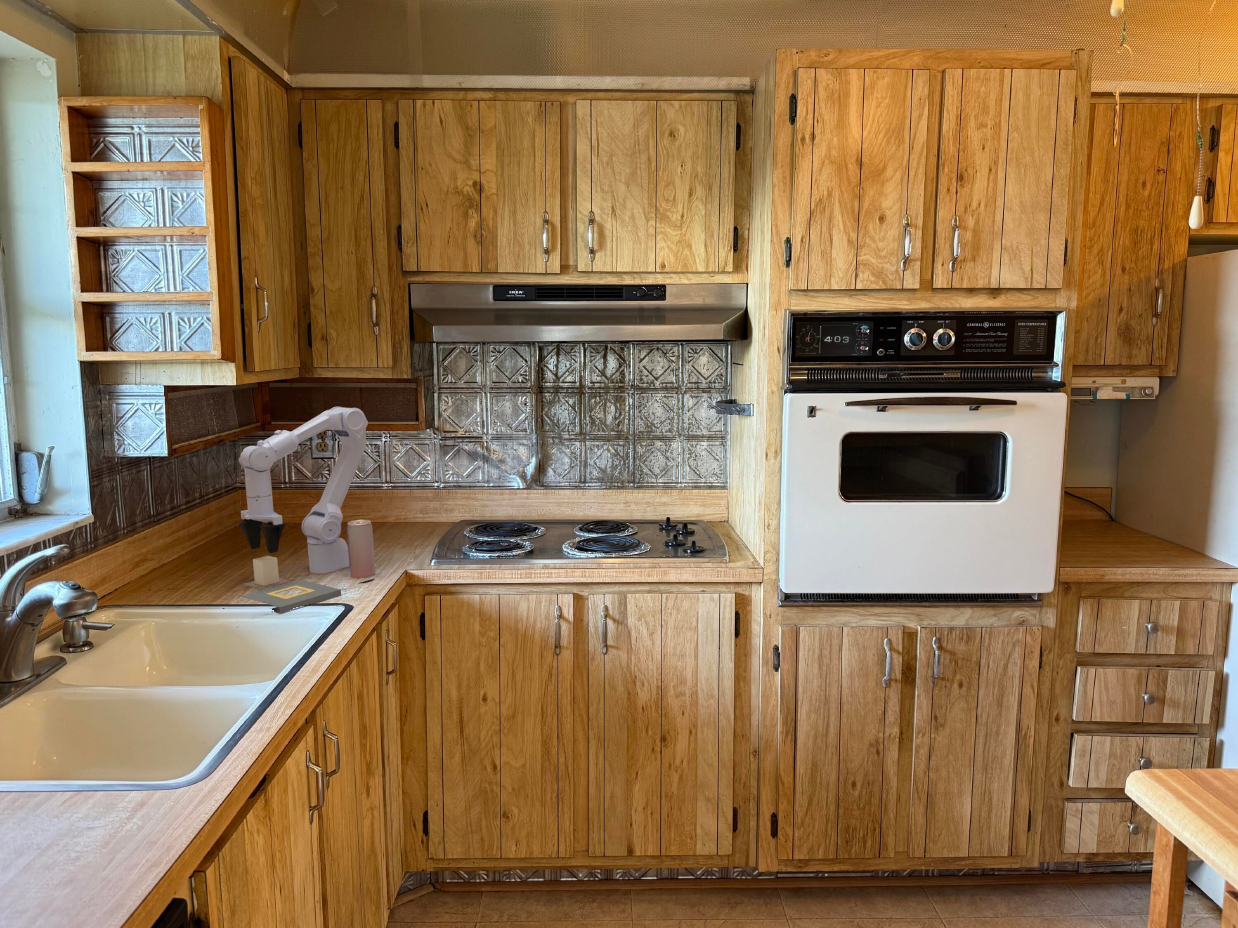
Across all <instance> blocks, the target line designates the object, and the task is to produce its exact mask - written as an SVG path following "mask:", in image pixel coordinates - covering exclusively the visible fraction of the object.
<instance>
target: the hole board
mask: <svg viewBox="0 0 1238 928" xmlns="http://www.w3.org/2000/svg"><path fill="white" fill-rule="evenodd" d="M293 589H296V590H301V591H303V592H300V593H297V594H292V595H290V596H289V595H288V596H285V595H282V594H279V593H282V592H286V591H289V590H293ZM341 596H342V589H341V588H337V587H333V586H329V585H325V584H321V583H316V582H313V581H307V580H304V579H298V580H294V581H290V582H286V583H282V584H279V585H275V586H271V587H268V588H264V589H260V590H258V591H254V592H250V593H247V594H243V595H240V597H241V598H245V599H249V600H253V601H256V602H259V603H263V604H266V605H271V606H273V607H272V608H271V609H272V610H274V612H273V613H277V614H280V615H281V614H285V613H289V612H291V611H290V610H292V609H293V608H296V607H300V606H304V605H308V606H310V605H309V604H311V605H314V604H313V603H315V604H318V603H321V602H324V601H328V600H332V599H335V598H338V597H341ZM292 611H293V610H292Z"/></svg>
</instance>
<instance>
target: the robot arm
mask: <svg viewBox="0 0 1238 928" xmlns="http://www.w3.org/2000/svg"><path fill="white" fill-rule="evenodd" d="M368 424H369V422H368V419H367V418H366V415H365V413H364V412H363V411H362V409H360V408H359V407H358V408H357V407H343V406H334V407H332V408H330V409H327V410H325V411H323V412H322V413H320V414H318V415H317V416H315V417H313V418H311V419H310V420H308V421H307V422H305V423H303V424H302V425H300V426H298V427H297V428H295V429H293V430H292V431H289V430H285V429H283V430H279V429H278V430H276V431H274V432H273V433H274V434H273V435H271V436H270V437H268V438H266V439H264V440H261V439H260V440H258V441H257V444H256V445H249V446H247V447H245V448H243V451H242V452H241V454H240V456H239V458H238V463H239V464H240V466H241V467H242V468H243V469H244V483H245V491H246V493H245V495H246V503H247V509H245V510H240V517H241V518H240V519H241V520H243V521H239V522H238V525H239V527H240V528H241V530H242V531H243V533H244V534H245V537H246V540H247V543H248V545H249V548H250V550H255V549H260V548H261V544H262V543H261V539H262V538H261V533H262V534H263V536H264V539H265V543H266V549H267V552H268V553H269V554H273V553H278V551H279V546H280V541H281V536H282V534H283V532H284V529H285V528H286V523H285V522H283V515H281V514H278V513H277V512H275V511H274V501H273V499H274V498H273V489H272V487H273V486H272V478H271V468H272V467H273V465H274V463H276V462H277V461H280V460H281V459H282V458H284V457H287V456H288V455H290V454H292V453H293V452H296V451H297V449H298V446H299V444H300V443H302V442H303V441H306V440H308V439H310V438H312V437H315V436H316V435H318V434H320V433H322V432H325V431H327V430H330V431H332V432H333V433H334V434H335V435H336V436H337V437H338V439H339V441H340V444H341V445H342V447H341V450H340V452H339V454H338V457H337V459H336V461H335V463H334V464H335V465H334V466H333V469H332V471H331V474H330V476H329V478H328V481H327V484H326V486H325V488H324V491H323V493H322V495H321V498H320V500H319V502H317V503H316V504H315V505H314V506H313V507H312V508H311V510H310V512H309V513H308V514H307V515H306V516H305V517H303V518H304V519H303V520H302V522H301V531H302V533H303V534H304V536H306V538H307V539H306V540H307V552H308V553H307V554H308V563H309V564H308V567H309V573H311V574H327V573H328V574H329V573H332V572H336V571H339V570H342V569H345V568H350V561H349V547H348V543H347V542H346V540H345V539H344V538H342V537H340V534H341V532H342V521H343V518H344V515H343V513H342V510H341V509H342V506H343V503H344V500H345V498H346V496H347V494H348V492H349V488H350V487H351V484H352V481H353V479H354V476H355V474H356V471H357V469H358V467H359V464H360V463H361V459H362V457H363V455H364V452H365V449H366V447H367V431H366V429H367V427H368ZM263 523H267V524H263Z"/></svg>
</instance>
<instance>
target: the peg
mask: <svg viewBox="0 0 1238 928" xmlns="http://www.w3.org/2000/svg"><path fill="white" fill-rule="evenodd" d="M252 563H253V564H252V566H253V575H254V576H253V578H254V581H255V583H256V584H260V585H264V586H265V585H269V584H272V583H276V582H279V578H280V576H279V565H278V564H279V563H278V557H276V556H275V557H274V556H272V555H266V556H261V557H257V558H253V559H252Z"/></svg>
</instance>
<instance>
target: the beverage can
mask: <svg viewBox="0 0 1238 928" xmlns="http://www.w3.org/2000/svg"><path fill="white" fill-rule="evenodd" d="M346 531H347V546H348V555H349V572H350V573H349V575H350V578H351V579H367V578H371V577H374V576H375V575H376V563H375V550H374V534H373V525H372V521H371V520H370V519H357V520H351V521H348V522H347V527H346ZM374 580H376V579H375V578H371V579H368V580H364V581H361V582H358V584H360V585H361V584H367V583H371V582H374Z"/></svg>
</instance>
